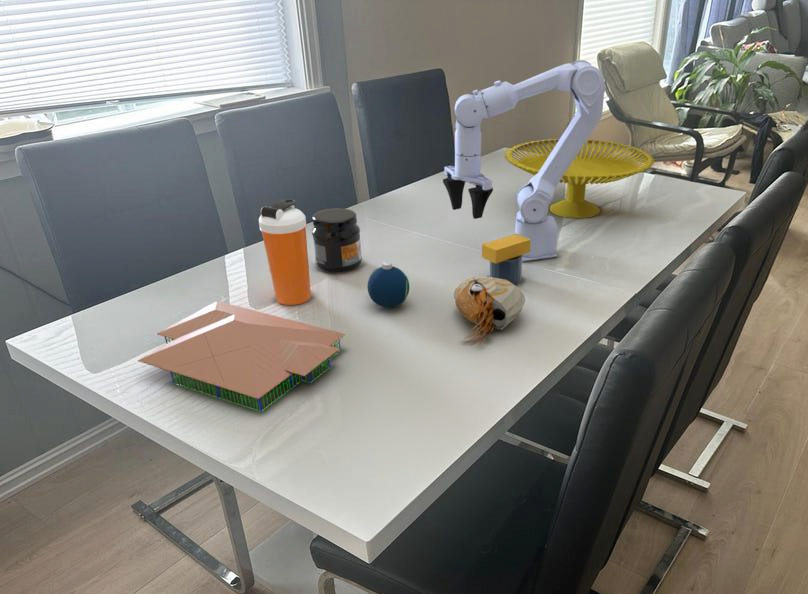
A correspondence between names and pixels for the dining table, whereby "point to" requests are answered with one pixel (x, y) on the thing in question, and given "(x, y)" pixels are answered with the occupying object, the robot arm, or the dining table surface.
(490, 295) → the nautilus
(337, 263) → the supplement container
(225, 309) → the house
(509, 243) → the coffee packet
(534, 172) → the cake stand
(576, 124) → the robot arm
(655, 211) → the dining table surface
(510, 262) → the espresso cup
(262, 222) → the shaker bottle
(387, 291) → the christmas ornament
